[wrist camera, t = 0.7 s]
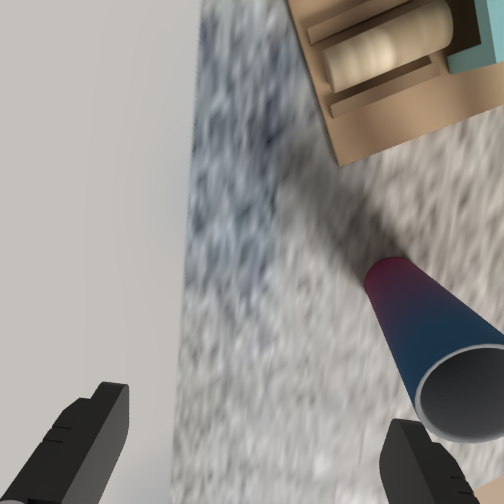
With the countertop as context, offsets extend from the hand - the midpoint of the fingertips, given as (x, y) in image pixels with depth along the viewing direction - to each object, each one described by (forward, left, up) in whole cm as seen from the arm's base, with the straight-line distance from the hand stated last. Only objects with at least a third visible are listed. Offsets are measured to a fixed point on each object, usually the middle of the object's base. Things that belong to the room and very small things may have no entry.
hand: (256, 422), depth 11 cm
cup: (-9, +10, -23) cm, 27 cm away
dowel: (-13, -9, -22) cm, 27 cm away
